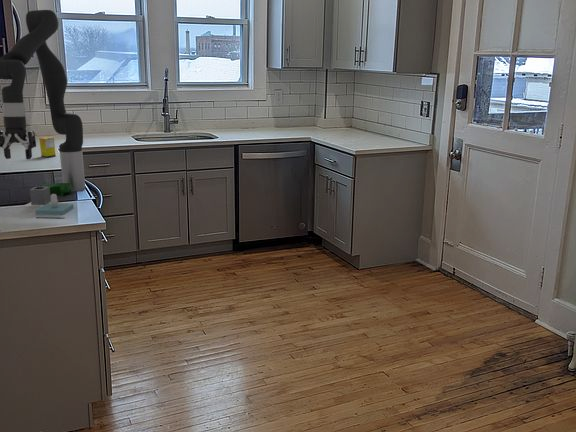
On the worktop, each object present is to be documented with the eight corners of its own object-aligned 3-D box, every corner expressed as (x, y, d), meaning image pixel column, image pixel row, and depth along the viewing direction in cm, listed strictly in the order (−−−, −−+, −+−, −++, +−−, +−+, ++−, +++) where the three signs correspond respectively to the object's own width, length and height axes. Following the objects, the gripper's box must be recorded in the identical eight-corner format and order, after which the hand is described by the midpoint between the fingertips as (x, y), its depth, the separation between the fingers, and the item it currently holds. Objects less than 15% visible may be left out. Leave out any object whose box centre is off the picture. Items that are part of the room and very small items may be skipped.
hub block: (48, 211, 227) (46, 190, 225) (74, 211, 227) (72, 190, 225) (36, 218, 218) (33, 196, 216) (63, 218, 217) (61, 197, 215)
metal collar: (37, 201, 236) (35, 186, 235) (50, 201, 236) (49, 186, 234) (31, 204, 231) (29, 189, 229) (45, 204, 231) (43, 189, 229)
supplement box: (50, 155, 349) (48, 136, 346) (56, 156, 346) (54, 137, 343) (40, 156, 345) (38, 137, 342) (46, 157, 341) (44, 138, 338)
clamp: (48, 209, 247) (36, 191, 242) (50, 202, 252) (38, 185, 248) (74, 198, 247) (63, 180, 242) (76, 191, 252) (65, 174, 247)
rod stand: (34, 203, 239) (33, 187, 237) (59, 203, 238) (57, 187, 237) (23, 209, 229) (21, 193, 228) (48, 210, 229) (46, 193, 227)
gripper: (37, 115, 223) (41, 158, 227) (3, 114, 226) (7, 157, 229) (25, 115, 216) (29, 160, 219) (-10, 115, 219) (-6, 159, 222)
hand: (18, 158), depth 224 cm, fingers open, 8 cm apart
